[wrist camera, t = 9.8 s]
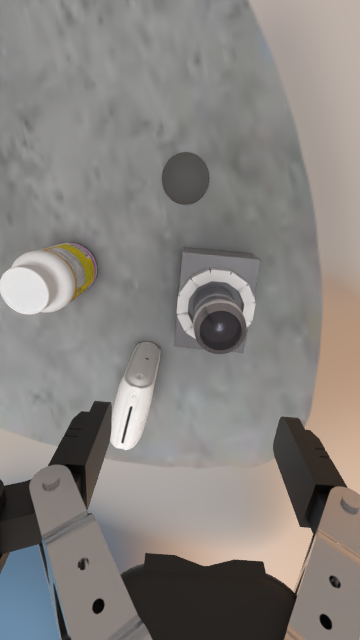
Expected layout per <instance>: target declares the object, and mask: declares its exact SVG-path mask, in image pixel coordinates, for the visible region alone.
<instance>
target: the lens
mask: <svg viewBox="0 0 360 640" xmlns="http://www.w3.org/2000/svg"><path fill="white" fill-rule="evenodd" d="M193 308H194V320H193V330H194V334H195V338H196V340H197V342H198V344H199V345H200V346H201V347H202V348H203V349H205V350H206V351H208V352H211V353H215V354H225V353H229V352H231V351H233V350H235V349H236V348H238V347H239V346H240V345H241V344H242V342H243V341H244V339H245V337H246V333H247V326H246V321H245V317H244V315H243V313H242V311H241V310H240V308H239V307H238V306H237V304H236V302H235V300H234V298H233V296H232V294H231V293H230V292H229V291H228V290H227V289H226V288H224V287H222V286H218V285H211V286H207V287H205V288H203V289H202V290H201V291H199V292H198V294H197V295H196V297H195V299H194V305H193Z"/></svg>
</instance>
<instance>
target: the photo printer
mask: <svg viewBox="0 0 360 640" xmlns="http://www.w3.org/2000/svg"><path fill="white" fill-rule="evenodd" d="M160 354H161V349H159V348H158V347H157V346H156V345H155V344H153V343H151V342H142V343H138V344H137V345H136V347H135V349H134V351H133V353H132V356H131V358H130V360H129V363H128V365H127V368H126V370H125V373H124V375H123V378H122V380H121V383H120V385H119V389H118V392H117V396H116V400H115V404H114V408H113V412H112V429H111V437H110V440H111V443H112V444H113V446H114V447H116V448H122V449H124V450H129V449H131V448H133V447H134V446H135V445H136V444H137V442H138V441H139V439H140V437H141V435H142V432H143V430H144V426H145V423H146V420H147V416H148V413H149V409H150V405H151V401H152V396H153V390H154V385H155V381H156V376H157V371H158V366H159V362H160Z"/></svg>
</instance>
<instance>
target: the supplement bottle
mask: <svg viewBox="0 0 360 640" xmlns="http://www.w3.org/2000/svg"><path fill="white" fill-rule="evenodd" d="M96 275H97V265H96V262H95V259H94V257H93V256H92V254H91V253H90V252H89V251H88V250H87V249H86V248H84V247H83V246H81V245H79V244H76V243H62V244H58V245H54V246H50V247H47V248H43V249H39V250H35V251H30V252H27V253H25V254H23V255H21V256H20V257H18V258H17V259H16V260H15V262H14V263H13V265H12V267H11V269H9V270H7V271H6V272H5V273H4V274H3V276H2V277H1V280H0V293H1V295H2V298H3V299H4V301H5V302H6V303H7V305H8V306H9V307H11V308H12V309H13V310H15V311H17V312H19V313H22V314H28V315H31V314H36V313H39V312H54V311H57V310H60V309H61V308H63V307H64V306H66V305H67V304H68V303H70V302H71V301H72V300H74V299H75V298H76V297H78V296H79V295H80V294H81V293H83V292H84V291H85V290H87V289H88V288H89V287H90V286H91V285H92V284H93V282H94V281H95V279H96Z"/></svg>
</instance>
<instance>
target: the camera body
mask: <svg viewBox="0 0 360 640" xmlns="http://www.w3.org/2000/svg"><path fill="white" fill-rule="evenodd" d="M260 261H261V260H260V259H259V258H257V257H256V256H254V255H253V254H248V253H238V252H228V251H217V250H207V249H196V248H186V247H184V248H183V254H182V265H181V276H180V287H179V293H178V303H177V320H176V331H175V342H174V346H175V347H186V348H196V349H203V348H202V347H201V346H200V345H199V344H198V342H197V340H196V338H195V334H194V330H193V320H194V308H193V305H194V299H195V297H196V295H197V294H198V292H199V291H201V290H202V289H203V288H205V287H207V286H211V285H218V286H222V287H224V288H226V289H227V290H228V291H229V292H230V293H231V294H232V296H233V298H234V300H235V302H236V304H237V306H238V307H239V308H240V310H241V311H242V313H243V315H244V317H245V321H246V326H247V331H248V326H249V325H250V324H251V321H252V320H253V315H254V310H255V305H256V303H255V299H254V293H255V288H256V283H257V277H258V272H259V267H260ZM246 336H247V333H246ZM245 341H246V337H245V339H244V341H243V342H242V344H241V345H240V346H239V347H238V348H236V349H235V350H233V351H231V352H238V353H243V352H244V346H245Z"/></svg>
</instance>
